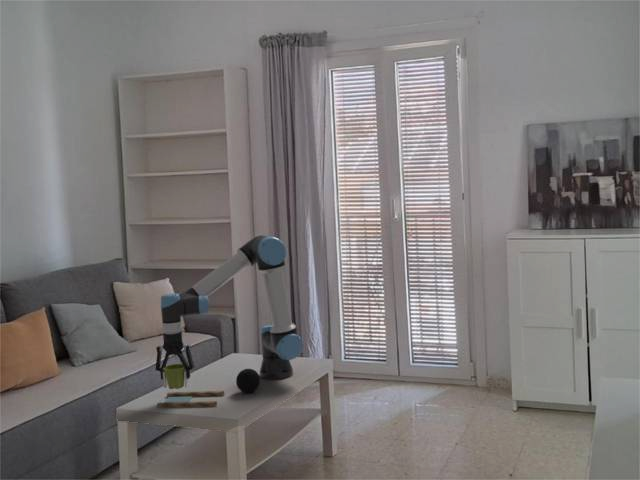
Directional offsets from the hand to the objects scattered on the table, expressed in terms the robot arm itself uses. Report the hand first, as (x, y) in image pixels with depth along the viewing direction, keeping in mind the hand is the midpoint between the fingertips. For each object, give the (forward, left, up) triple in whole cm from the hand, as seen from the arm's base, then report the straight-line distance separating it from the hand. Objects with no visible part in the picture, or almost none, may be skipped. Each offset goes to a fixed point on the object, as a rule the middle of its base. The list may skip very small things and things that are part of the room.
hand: (176, 386), depth 301 cm
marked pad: (0, 0, -6) cm, 6 cm away
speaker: (-28, -10, -6) cm, 30 cm away
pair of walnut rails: (-6, 0, -6) cm, 9 cm away
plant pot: (0, 0, -1) cm, 1 cm away
